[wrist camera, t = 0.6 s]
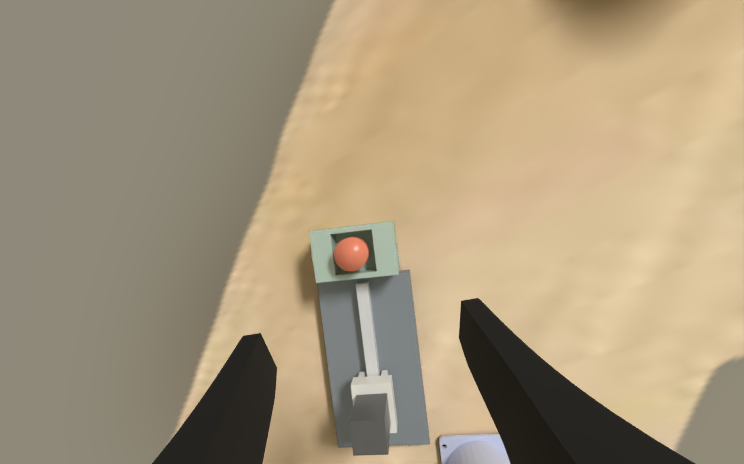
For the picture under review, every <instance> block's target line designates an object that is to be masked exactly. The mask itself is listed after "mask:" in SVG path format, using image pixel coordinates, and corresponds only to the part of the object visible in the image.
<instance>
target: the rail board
mask: <svg viewBox="0 0 744 464" xmlns="http://www.w3.org/2000/svg"><path fill="white" fill-rule="evenodd" d="M317 285H318V293H319V300H320V308H321V316H322V324H323V332H324V339H325V347H326V355H327V363H328V371H329V379H330V386H331V394H332V402H333V410H334V418H335V425H336V433H337V441H338V448H340V447H352V439H351V432H350V424H349V421H350V417H351V414H352V410H353V401H352V393H351V382H352V380H353V377H358V375H359V372H365V374H366V377H368V376H381V373H382V370H388V375H392V381H393V390H394V398H395V406H396V414H397V422H398V424H397V433H390V439H389V446H397V445H425V444H430V439H429V430H428V422H427V413H426V405H425V396H424V388H423V379H422V371H421V363H420V354H419V346H418V337H417V329H416V320H415V312H414V303H413V295H412V286H411V278H410V270H403V271H399V275H390V276H380V277H370V278H360V279H350V280H340V281H330V282H320V283H317Z"/></svg>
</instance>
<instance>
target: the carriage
mask: <svg viewBox="0 0 744 464" xmlns="http://www.w3.org/2000/svg"><path fill="white" fill-rule="evenodd" d="M351 393H352V401H353V410H352V414H351V417H350V421H349V424H350V432H351V439H352V447H353V455H354V456H355V455H387V454H388V451H389V439H390V433H397V424H398V422H397V414H396V406H395V398H394V390H393V381H392V375H388V370H382V373H381V376H368V377H366V374H365V372H359V375H358V377H353V380H352V382H351Z"/></svg>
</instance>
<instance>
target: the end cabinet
mask: <svg viewBox="0 0 744 464" xmlns="http://www.w3.org/2000/svg"><path fill="white" fill-rule="evenodd" d="M309 233H310V240H311V256H312V262H313V265H314V272H315V279H316V283H320V282H330V281H340V280H350V279H360V278H370V277H380V276H390V275H399V269H400V263H399V255H398V246H397V238H396V229H395V221H389V222H381V223H373V224H364V225H356V226H348V227H340V228H331V229H323V230H316V231H309ZM349 237H360V238H362V239H364V240H365V241H366V242H367V244H368V246H369V248H370V256H369V259H368V261H367V262H366V263H365V264H364V265H363V266H362V267H361V268H360V269H358V270H356V271H345V270H343V269H341V268H340V267H339V266H338V265H337V263H336V262H335V259H334V250H335V247H336V246H337V244H338V243H339V242H340V241H342V240H343V239H346V238H349Z"/></svg>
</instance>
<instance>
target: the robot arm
mask: <svg viewBox="0 0 744 464" xmlns="http://www.w3.org/2000/svg"><path fill="white" fill-rule="evenodd" d="M459 340H460V343H461V346H462V349H463V352H464V355H465V358H466V361H467V364H468V366H469V369H470V371H471V373H472V375H473V378H474V380H475V382H476V384H477V386H478V389H479V391H480V393H481V395H482V397H483V399H484V402H485V404H486V406H487V408H488V410H489V413H490V415H491V417H492V419H493V421H494V423H495V426H496V428H497V430H498V432H499V433H497V434H470V435H444V436H440V438H439V446H440V454H441V463H442V464H695V463H693V462H691V461H690V460H688V459H686V458H685V457H683V456H681V455H680V454H678V453H676V452H675V451H673V450H671V449H670V448H668V447H666V446H665V445H663V444H661V443H660V442H658V441H656V440H655V439H653V438H652V437H650V436H648V435H647V434H645V433H644V432H642V431H641V430H639V429H638V428H636V427H635V426H633V425H632V424H630V423H628V422H627V421H625V420H624V419H622V418H621V417H619V416H618V415H616V414H615V413H613V412H612V411H610V410H609V409H607V408H606V407H604V406H603V405H602V404H600V403H599V402H597V401H596V400H595V399H593V398H592V397H590V396H589V395H588V394H586V393H585V392H583V391H582V390H581V389H579V388H578V387H577V386H575V385H574V384H573V383H571V382H570V381H569V380H568V379H566V378H565V377H564V376H563V375H561V374H560V373H559V372H558V371H556V370H555V369H554V368H553V367H551V366H550V365H549V364H548V363H547V362H545V361H544V360H543V359H542V358H541V357H540V356H538V355H537V354H536V353H535V352H534V351H533V350H532V349H530V348H529V347H528V346H527V345H526V344H525V343H524V342H523V341H522V340H521V339H519V338H518V337H517V336H516V335H515V334H514V333H513V332H512V331H511V330H510V329H509V328H508V327H507V326H506V325H505V324H504V323H503V322H502V321H501V320H500V319H499V318H498V317H497V316H496V315H495V314H494V313H493V312H492V311H491V310H490V309H489V308H488V307H487V306H486V305H485V304H484V303H483V302H482V301H481V300H480V299H478V298H476V299H470V300H464V301H461V313H460V330H459ZM276 375H277V367H276V365H275V363H274V361H273V359H272V356H271V354H270V352H269V350H268V348H267V346H266V344H265V342H264V339H263V337H262V335H261V333H259V334H252V335H246V336H243V337H242V338H241V340H240V341H239V343H238V344H237V346H236V348H235V349H234V351H233V352H232V354H231V355H230V357H229V358H228V360H227V362H226V363H225V365H224V366H223V368H222V369H221V371H220V372H219V374H218V375H217V377H216V378H215V380H214V381H213V383H212V384H211V386H210V387H209V389H208V390H207V392H206V393H205V395H204V396H203V397H202V399H201V400H200V402H199V403H198V405H197V406H196V407H195V409H194V410H193V411H192V413H191V414H190V416H189V417H188V418H187V420H186V421H185V422H184V424H183V425H182V426H181V428H180V429H179V430H178V432H177V433H176V434H175V436H174V437H173V438H172V439H171V441H170V442H169V443H168V445H167V446H166V447H165V448H164V450H163V451H162V452H161V453H160V455H159V456H158V457H157V458H156V460H155V461H154V462H153V463H152V464H262V463H263V457H264V452H265V447H266V442H267V437H268V431H269V426H270V421H271V416H272V410H273V405H274V399H275V389H276ZM444 444H445V445H446V446H442V445H444Z"/></svg>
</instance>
